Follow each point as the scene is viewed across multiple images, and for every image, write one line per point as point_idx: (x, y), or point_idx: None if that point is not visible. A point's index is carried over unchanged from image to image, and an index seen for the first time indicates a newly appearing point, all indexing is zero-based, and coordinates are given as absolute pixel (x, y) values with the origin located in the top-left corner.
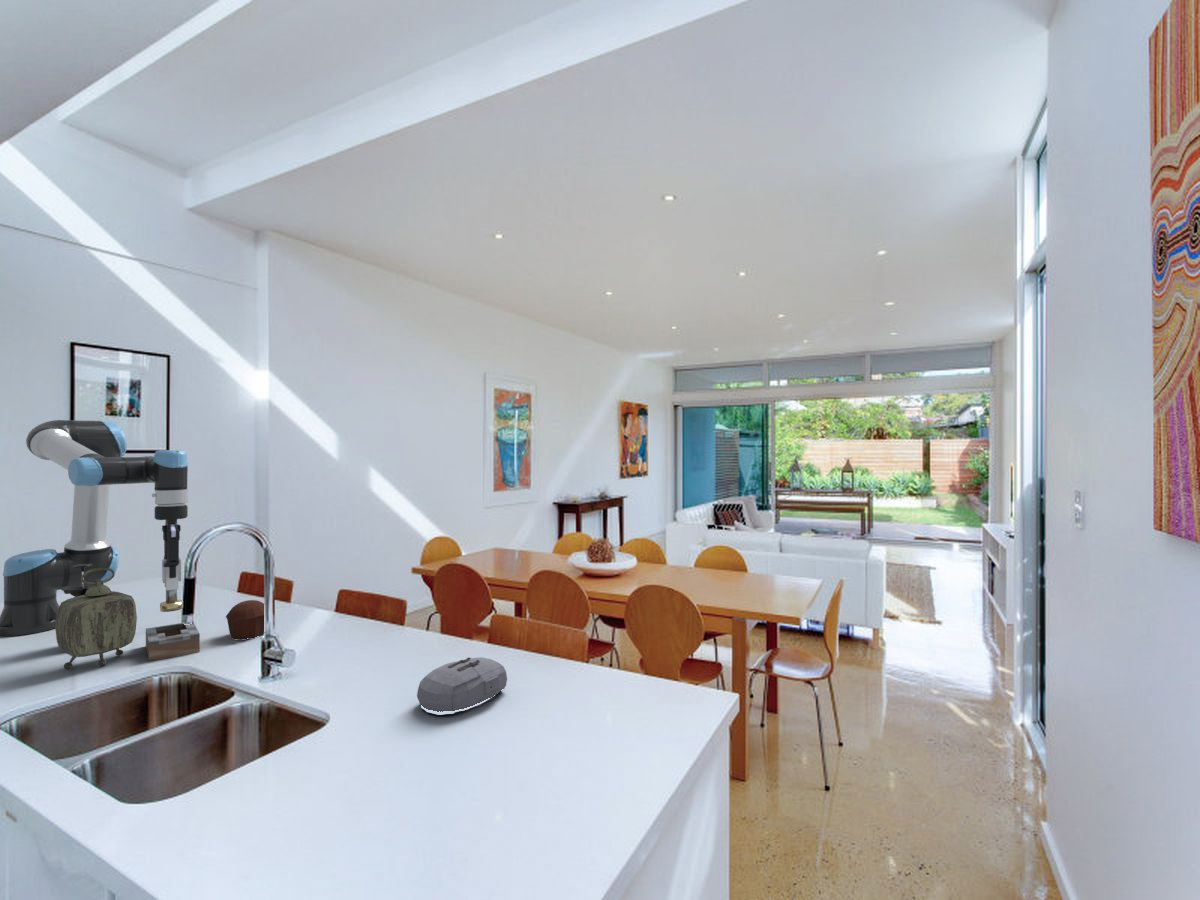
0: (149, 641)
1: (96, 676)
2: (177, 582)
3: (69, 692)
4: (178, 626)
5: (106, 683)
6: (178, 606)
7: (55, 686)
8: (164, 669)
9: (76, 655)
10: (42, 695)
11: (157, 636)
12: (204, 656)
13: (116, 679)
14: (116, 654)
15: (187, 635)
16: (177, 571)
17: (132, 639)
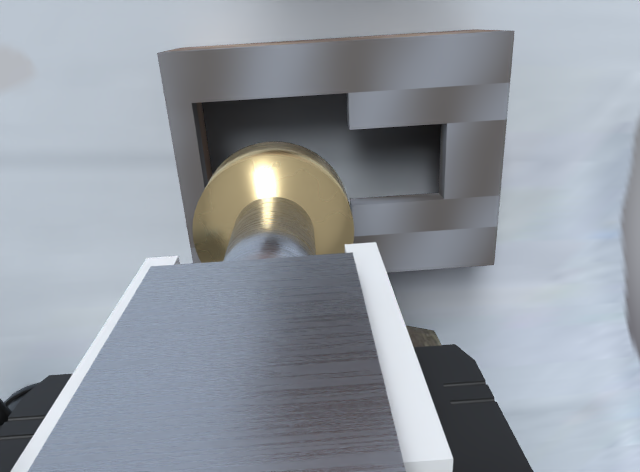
0: (479, 264)
1: (515, 365)
2: (388, 285)
3: (622, 410)
4: (200, 134)
5: (621, 335)
6: (338, 180)
7: (528, 445)
8: (622, 175)
9: None
10: (589, 459)
11: (405, 234)
12: (568, 11)
13: (603, 313)
14: None
15: (500, 97)
16: (420, 382)
17: (420, 330)
